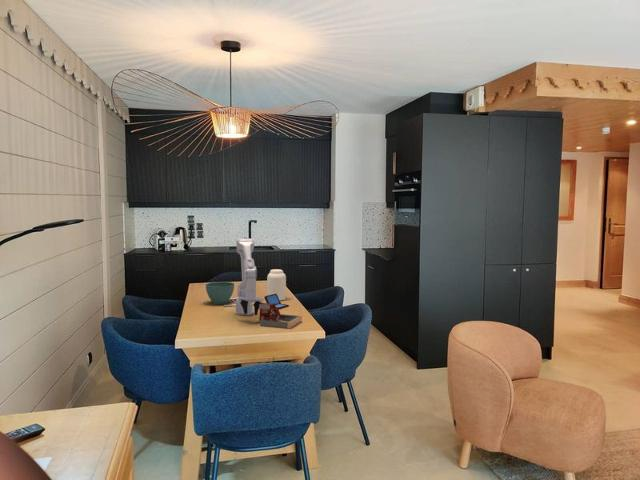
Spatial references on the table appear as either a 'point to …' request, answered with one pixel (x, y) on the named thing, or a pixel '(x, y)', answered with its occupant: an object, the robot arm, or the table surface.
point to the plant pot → (220, 291)
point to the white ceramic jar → (276, 283)
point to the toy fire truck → (269, 312)
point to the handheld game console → (275, 301)
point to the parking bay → (292, 318)
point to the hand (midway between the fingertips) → (250, 314)
